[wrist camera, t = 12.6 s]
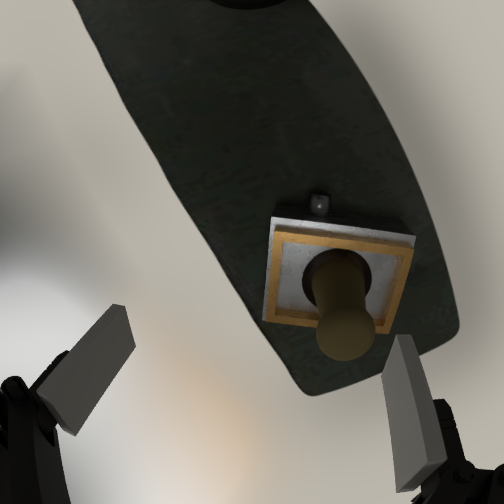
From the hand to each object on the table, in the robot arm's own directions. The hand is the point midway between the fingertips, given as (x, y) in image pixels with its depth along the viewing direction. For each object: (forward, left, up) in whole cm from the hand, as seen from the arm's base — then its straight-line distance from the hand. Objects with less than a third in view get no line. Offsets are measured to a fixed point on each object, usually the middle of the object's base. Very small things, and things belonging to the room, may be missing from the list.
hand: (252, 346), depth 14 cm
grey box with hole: (+5, +7, -26) cm, 27 cm away
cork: (+6, +7, -20) cm, 22 cm away
